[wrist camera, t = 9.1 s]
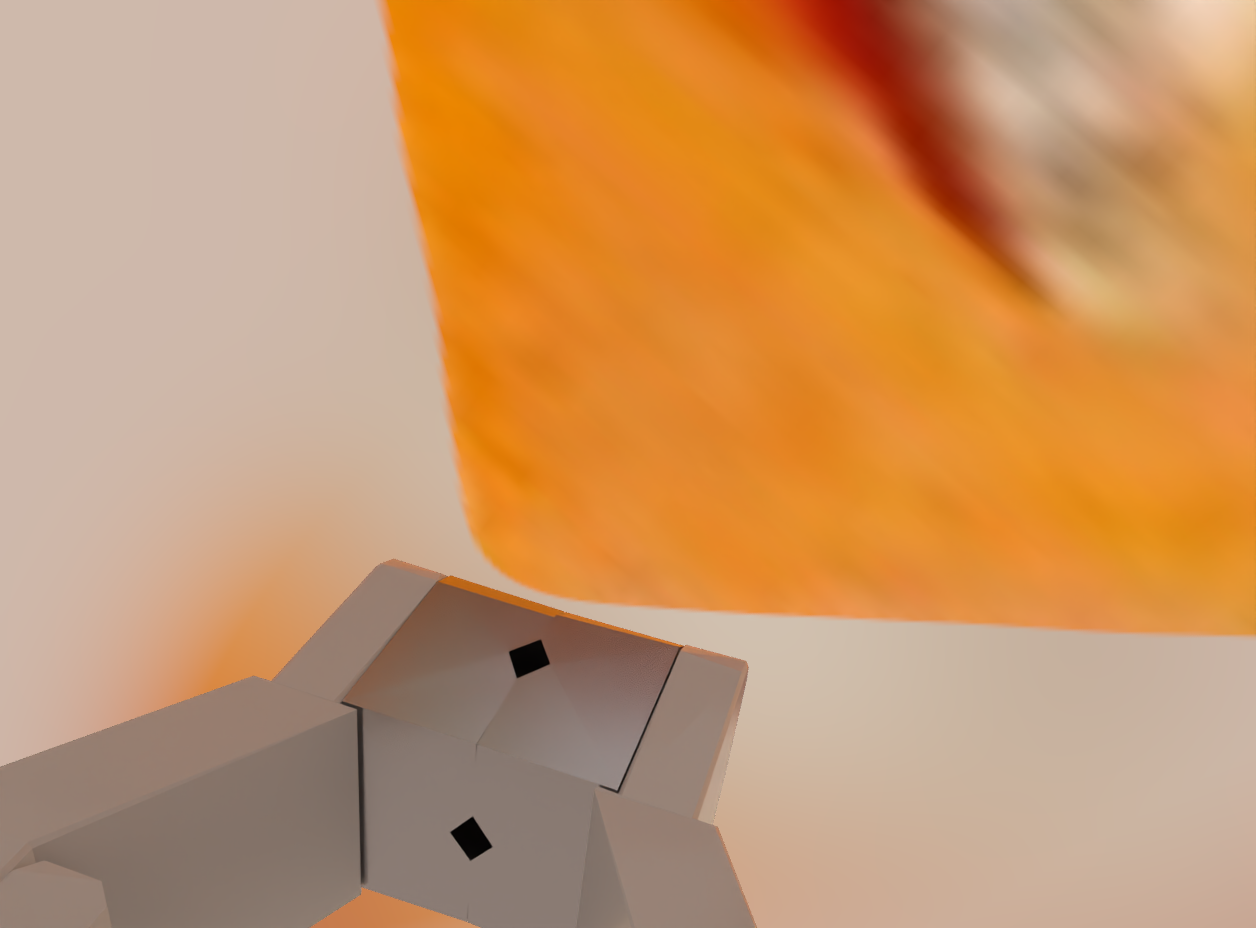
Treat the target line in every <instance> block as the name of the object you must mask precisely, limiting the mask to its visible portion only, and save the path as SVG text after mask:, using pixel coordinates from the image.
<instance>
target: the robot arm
mask: <svg viewBox="0 0 1256 928" xmlns="http://www.w3.org/2000/svg"><path fill="white" fill-rule="evenodd" d="M747 675H748V664H747V662H746V661H744V660H740V659H736V658H733V657H729V656H725V655H722V654H718V653H714V652H710V651H707V650H703V649H699V648H696V647H692V646H688V645H685V646H682V645H678V644H675V643H672V642H668V641H665V640H661V639H658V638H654V637H651V636H647V635H644V634H640V633H637V632H633V631H630V630H626V629H623V628H619V627H616V626H612V625H609V624H605V623H602V622H598V621H595V620H591V619H588V618H584V617H580V616H577V615H574V614H570V613H567V612H565V613H564V611H561V610H558V609H554V608H551V607H548V606H545V605H542V604H539V603H535V602H532V601H529V600H526V599H523V598H520V597H517V596H513V595H510V594H507V593H504V592H501V591H498V590H494V589H491V588H488V587H485V586H482V585H479V584H475V583H472V582H469V581H466V580H463V579H460V578H457V577H454V576H449V577H448V576H446V575H443V574H441V573H438V572H434V571H431V570H428V569H425V568H422V567H419V566H415V565H412V564H409V563H406V562H403V561H399V560H396V559H392V560H389V561H386V562H384V563H381V564H380V565H378V566H376V567H375V568H374V570H373V571H372V572H371V573H370V574H369V575H368V576H367V577H366V578H365V579H364V580H363V581H362V583H361V584H360V585H359V586H358V587H357V588H356V589H355V590H354V591H353V592H352V594H351V595H350V596H349V597H348V598H347V599H346V600H345V601H344V602H343V603H342V604H341V606H340V607H339V608H338V609H337V610H336V611H335V612H334V613H333V614H332V615H331V616H330V618H329V619H328V620H327V621H326V622H325V623H324V624H323V625H322V626H321V627H320V628H319V629H318V630H317V632H316V633H315V634H314V635H313V636H312V637H311V638H310V639H309V640H308V642H306V644H305V645H304V646H303V647H302V648H301V649H300V650H299V651H298V652H297V654H296V655H295V656H294V657H293V658H292V659H291V660H290V661H289V662H288V663H287V664H286V665H285V666H284V668H283V669H282V670H281V671H280V672H279V673H278V674H277V675H276V676H275V677H274V678H273V680H272V681H269V680H266V679H262V678H259V677H256V676H252V677H249V678H246V679H244V680H241V681H238V682H235V683H232V684H230V685H227V686H224V687H221V688H218V689H215V690H213V691H210V692H207V693H204V694H202V695H199V696H196V697H193V698H190V699H188V700H185V701H182V702H179V703H177V704H174V705H171V706H168V707H165V708H163V709H160V710H157V711H154V712H152V713H149V714H146V715H143V716H140V717H137V718H135V719H132V720H129V721H126V722H124V723H121V724H118V725H115V726H112V727H110V728H107V729H104V730H102V731H99V732H96V733H93V734H90V735H87V736H85V737H82V738H79V739H76V740H73V741H71V742H68V743H65V744H62V745H60V746H57V747H54V748H51V749H48V750H46V751H43V752H40V753H37V754H35V755H32V756H29V757H26V758H23V759H21V760H18V761H16V762H12V763H9V764H7V765H4V766H1V767H0V928H310V927H311V926H313V925H314V924H316V923H317V922H319V921H320V920H322V919H324V918H325V917H327V916H328V915H330V914H331V913H333V912H334V911H336V910H338V909H339V908H341V907H342V906H344V905H345V904H347V903H348V902H350V901H351V900H353V899H355V898H356V897H358V896H359V895H361V887H363V888H366V889H369V890H372V891H375V892H378V893H381V894H384V895H387V896H390V897H393V898H396V899H399V900H402V901H405V902H408V903H411V904H414V905H417V906H421V907H423V908H427V909H430V910H433V911H436V912H439V913H442V914H445V915H448V916H451V917H454V918H457V919H460V920H463V921H466V922H467V921H468V923H471V924H474V925H476V926H479V927H481V928H757V927H756V924H755V922H754V919H753V916H752V914H751V911H750V909H749V906H748V903H747V901H746V898H745V896H744V893H743V891H742V888H741V885H740V883H739V880H738V878H737V875H736V873H735V870H734V868H733V865H732V862H731V860H730V857H729V855H728V852H727V850H726V847H725V844H724V842H723V839H722V837H721V834H720V832H719V829H718V827H717V826H714V825H713V821H714V817H715V813H716V809H717V805H718V801H719V797H720V793H721V789H722V785H723V781H724V777H725V773H726V768H727V764H728V760H729V756H730V751H731V747H732V743H733V738H734V734H735V729H736V725H737V721H738V716H739V712H740V708H741V703H742V699H743V694H744V690H745V686H746V681H747Z"/></svg>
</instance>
